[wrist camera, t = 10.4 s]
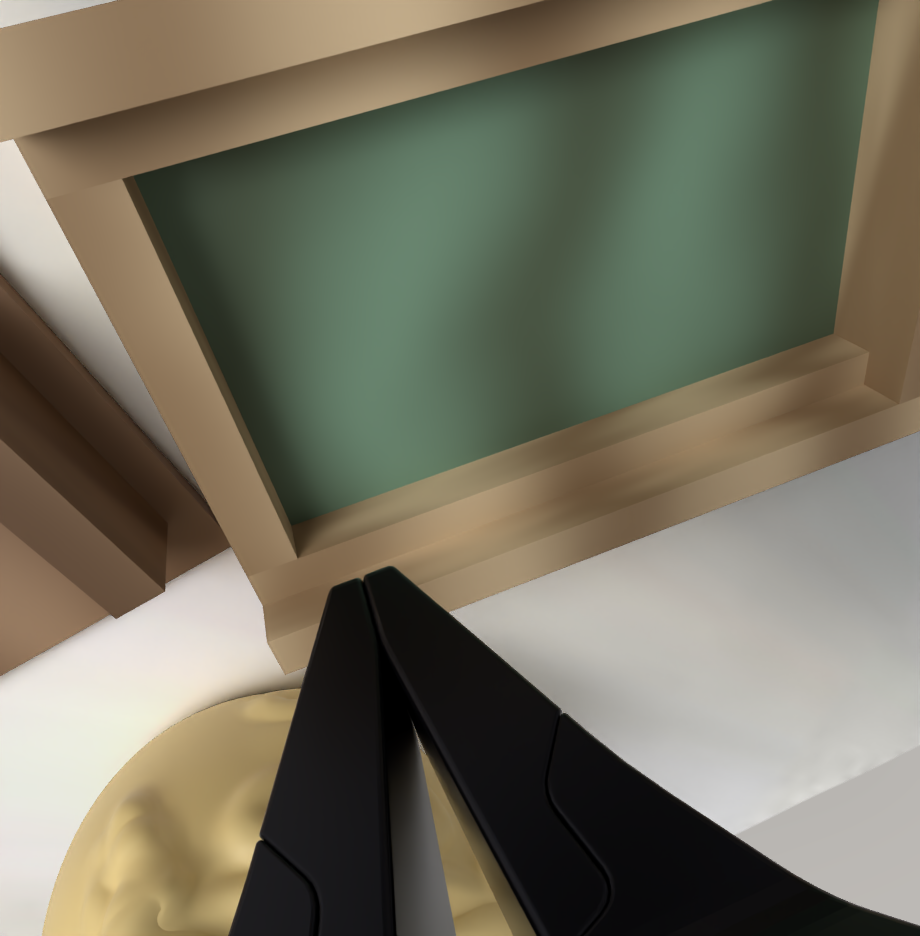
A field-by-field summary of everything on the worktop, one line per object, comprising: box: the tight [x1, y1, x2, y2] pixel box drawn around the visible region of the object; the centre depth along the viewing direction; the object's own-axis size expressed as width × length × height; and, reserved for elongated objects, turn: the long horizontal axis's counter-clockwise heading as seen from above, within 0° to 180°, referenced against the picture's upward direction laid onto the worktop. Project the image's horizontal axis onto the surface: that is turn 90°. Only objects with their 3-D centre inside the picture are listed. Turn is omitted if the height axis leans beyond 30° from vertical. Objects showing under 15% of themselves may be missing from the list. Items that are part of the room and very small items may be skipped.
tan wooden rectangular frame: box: [0, 0, 920, 675], centre depth 15 cm, size 18×13×4 cm
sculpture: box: [42, 688, 513, 936], centre depth 19 cm, size 11×12×11 cm
